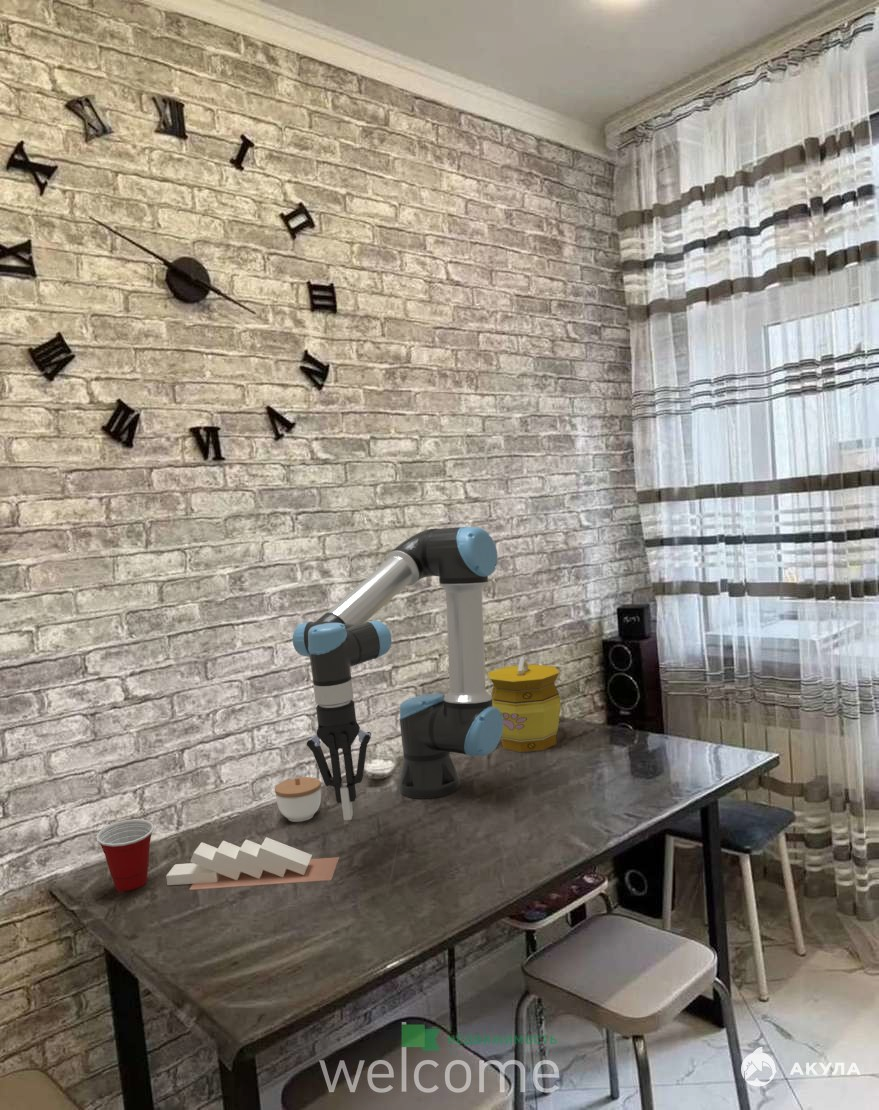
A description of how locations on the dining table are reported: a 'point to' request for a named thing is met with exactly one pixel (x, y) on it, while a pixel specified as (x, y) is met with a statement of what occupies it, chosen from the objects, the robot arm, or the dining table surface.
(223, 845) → the domino
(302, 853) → the domino
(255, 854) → the domino
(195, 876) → the domino
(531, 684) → the container
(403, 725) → the robot arm
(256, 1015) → the dining table surface
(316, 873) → the strip
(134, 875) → the plastic cup
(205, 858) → the domino
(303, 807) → the lidded jar
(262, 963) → the dining table surface
